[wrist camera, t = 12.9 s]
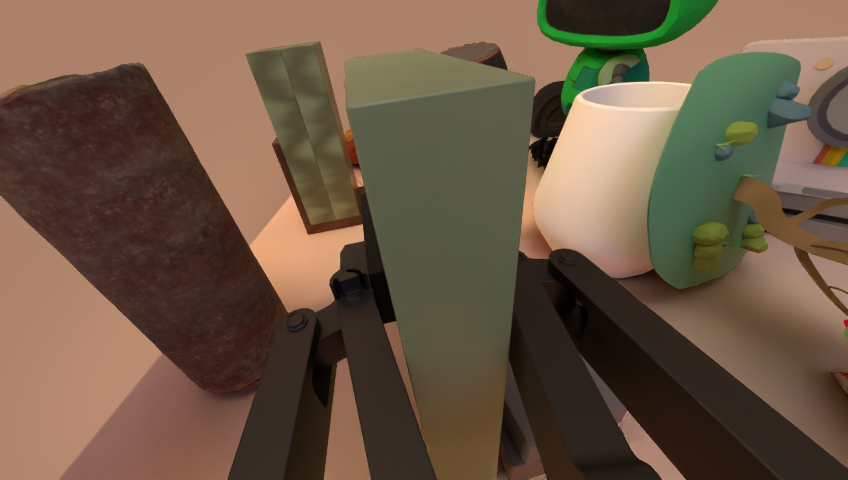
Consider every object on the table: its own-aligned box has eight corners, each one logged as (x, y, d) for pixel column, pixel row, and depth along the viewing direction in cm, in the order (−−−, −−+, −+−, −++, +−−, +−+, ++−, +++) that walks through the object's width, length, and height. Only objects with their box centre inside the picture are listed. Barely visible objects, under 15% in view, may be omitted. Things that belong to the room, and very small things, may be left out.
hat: (403, 135, 69) (392, 59, 59) (468, 100, 84) (467, 35, 75) (475, 149, 59) (475, 61, 50) (533, 107, 74) (542, 34, 65)
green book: (438, 497, 15) (345, 106, 4) (407, 344, 22) (343, 58, 12) (496, 479, 15) (537, 76, 5) (447, 334, 22) (420, 48, 12)
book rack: (307, 236, 38) (233, 54, 27) (313, 203, 45) (257, 49, 34) (432, 211, 40) (413, 30, 28) (418, 183, 47) (398, 30, 36)
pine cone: (599, 194, 38) (610, 153, 35) (560, 200, 38) (567, 159, 35) (542, 148, 52) (546, 116, 49) (513, 152, 52) (515, 120, 49)
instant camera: (645, 204, 35) (699, 53, 27) (703, 149, 45) (756, 26, 36) (987, 298, 21) (1337, 45, 13) (961, 189, 31) (1147, 5, 22)
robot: (522, 120, 63) (533, -92, 41) (637, 106, 58) (719, -139, 36) (540, 209, 45) (576, -75, 24) (706, 199, 41) (942, -163, 19)
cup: (538, 205, 38) (553, 79, 30) (671, 220, 32) (735, 72, 24) (516, 275, 28) (530, 118, 20) (700, 313, 23) (821, 120, 15)
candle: (279, 401, 21) (30, 77, 9) (177, 409, 21) (-183, 106, 10) (310, 314, 27) (184, 55, 16) (231, 321, 28) (50, 73, 16)
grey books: (506, 487, 16) (511, 453, 13) (455, 343, 23) (451, 303, 21) (617, 451, 17) (642, 413, 14) (533, 322, 24) (540, 282, 21)
